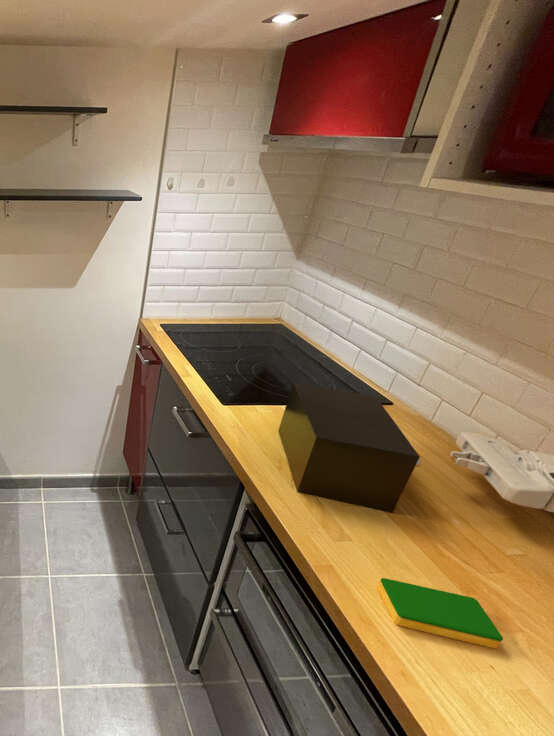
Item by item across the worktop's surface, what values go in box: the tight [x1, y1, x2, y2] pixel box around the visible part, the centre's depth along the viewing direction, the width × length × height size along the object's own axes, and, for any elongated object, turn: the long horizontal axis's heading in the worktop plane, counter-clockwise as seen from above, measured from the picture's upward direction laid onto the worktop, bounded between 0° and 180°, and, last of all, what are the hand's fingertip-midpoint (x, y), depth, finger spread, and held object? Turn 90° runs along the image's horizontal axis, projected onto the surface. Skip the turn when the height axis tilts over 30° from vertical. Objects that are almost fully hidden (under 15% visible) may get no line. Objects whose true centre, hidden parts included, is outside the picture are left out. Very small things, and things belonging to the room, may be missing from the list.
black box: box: [278, 382, 422, 514], centre depth 104 cm, size 20×24×15 cm
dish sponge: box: [376, 577, 504, 649], centre depth 73 cm, size 7×14×2 cm, turn 74°
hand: (453, 457), depth 97 cm, fingers closed
